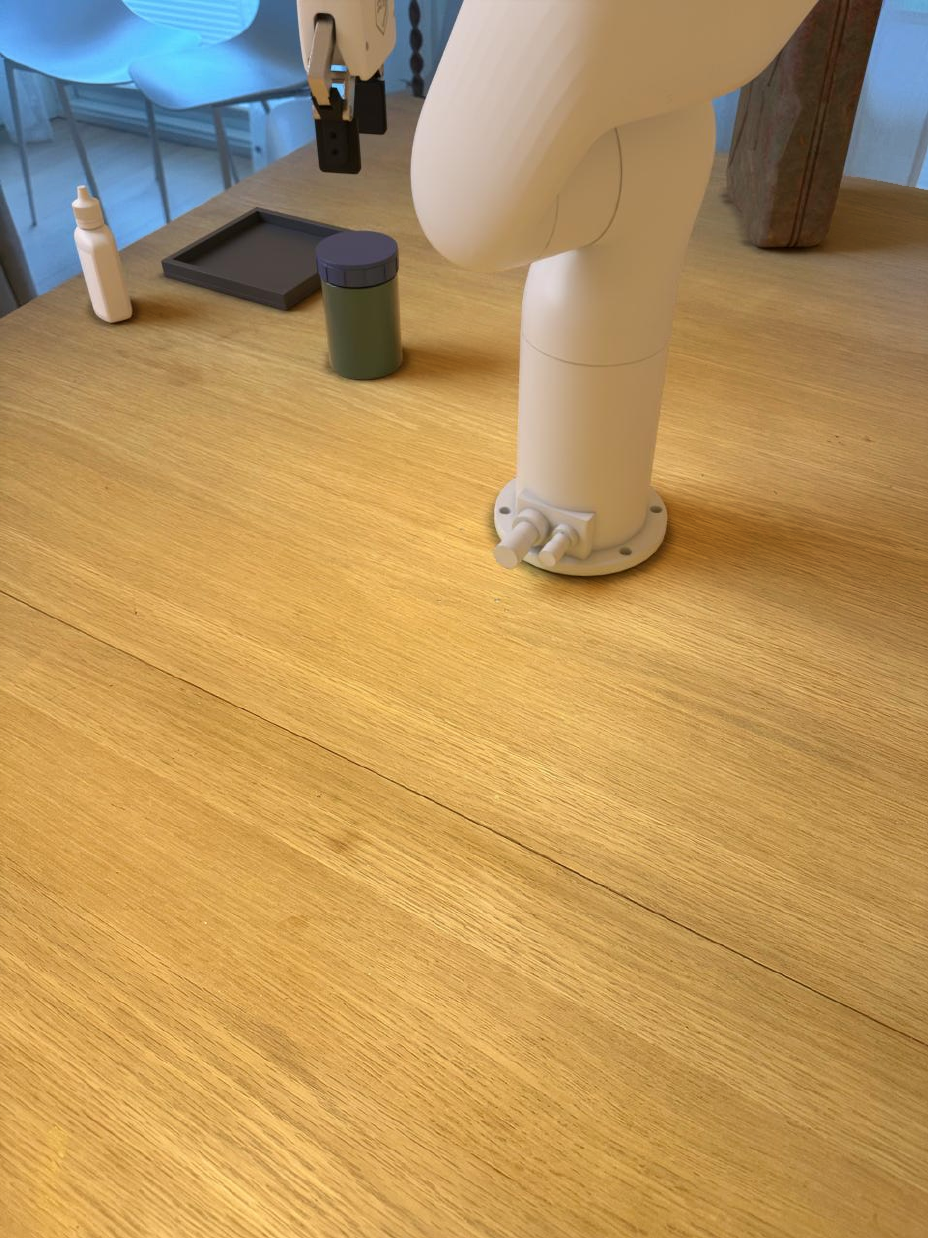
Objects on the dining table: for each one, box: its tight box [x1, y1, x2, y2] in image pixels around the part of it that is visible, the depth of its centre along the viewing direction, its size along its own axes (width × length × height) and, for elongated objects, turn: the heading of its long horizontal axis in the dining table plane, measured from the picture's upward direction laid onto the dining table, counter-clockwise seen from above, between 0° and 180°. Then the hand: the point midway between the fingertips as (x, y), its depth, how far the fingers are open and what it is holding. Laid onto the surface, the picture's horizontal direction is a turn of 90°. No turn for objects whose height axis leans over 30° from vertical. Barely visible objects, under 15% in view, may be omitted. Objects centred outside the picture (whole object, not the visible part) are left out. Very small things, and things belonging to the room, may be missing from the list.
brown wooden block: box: [725, 0, 884, 248], centre depth 109 cm, size 19×8×25 cm, turn 1°
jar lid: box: [316, 230, 400, 287], centre depth 89 cm, size 7×7×2 cm
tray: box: [160, 206, 356, 311], centre depth 109 cm, size 16×16×2 cm
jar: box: [320, 271, 404, 381], centre depth 92 cm, size 7×7×10 cm
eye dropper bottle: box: [71, 184, 133, 324], centre depth 99 cm, size 4×6×12 cm
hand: (354, 150), depth 83 cm, fingers open, 7 cm apart
